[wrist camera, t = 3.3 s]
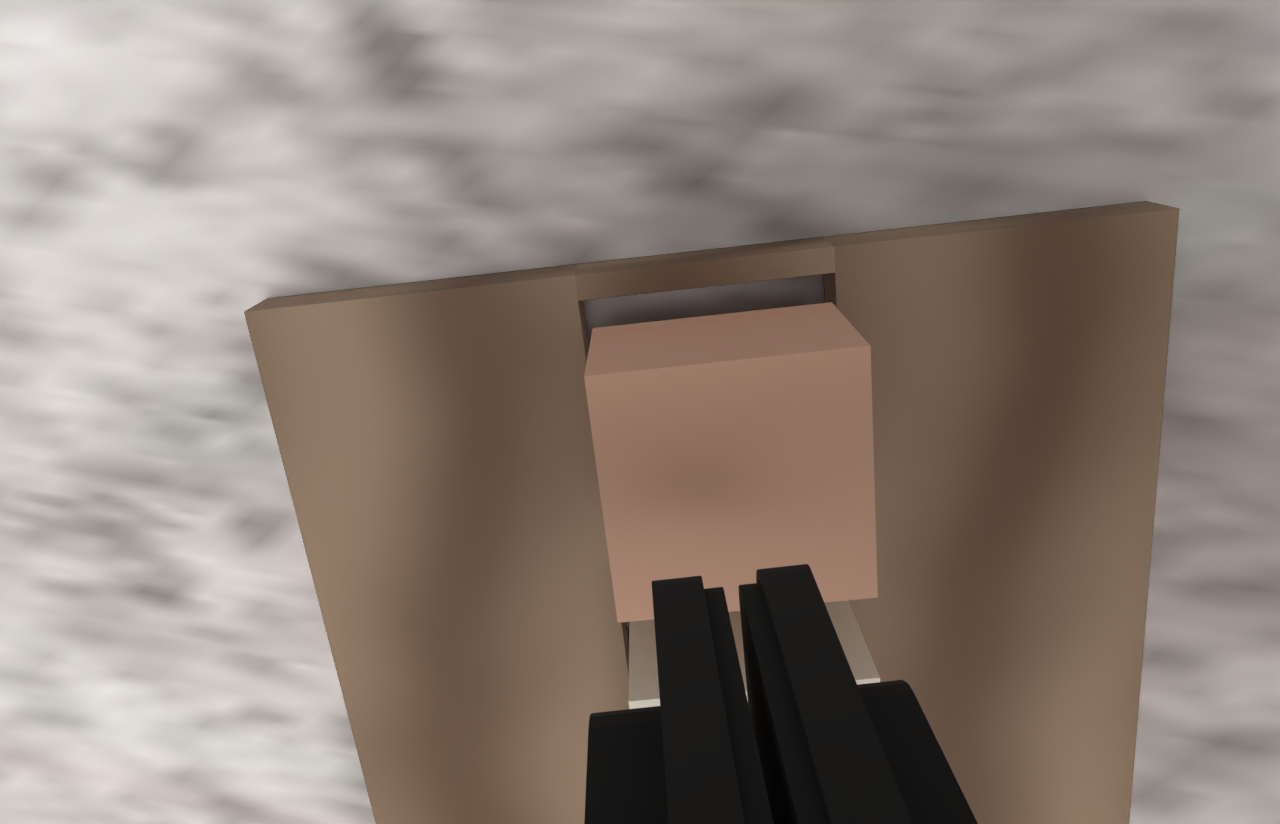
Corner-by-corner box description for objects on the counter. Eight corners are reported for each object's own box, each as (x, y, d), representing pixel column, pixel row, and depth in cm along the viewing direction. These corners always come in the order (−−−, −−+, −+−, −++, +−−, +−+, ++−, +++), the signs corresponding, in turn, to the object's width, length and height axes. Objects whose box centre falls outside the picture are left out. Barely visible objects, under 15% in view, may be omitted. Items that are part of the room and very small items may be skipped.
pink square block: (831, 301, 17) (870, 345, 14) (841, 518, 18) (877, 597, 16) (592, 327, 17) (584, 376, 14) (620, 540, 19) (617, 623, 16)
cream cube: (843, 589, 19) (880, 678, 16) (851, 764, 20) (885, 873, 18) (629, 609, 19) (628, 701, 16) (652, 782, 21) (654, 893, 18)
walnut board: (1146, 201, 19) (1179, 208, 18) (1098, 889, 25) (1120, 927, 23) (267, 298, 19) (244, 312, 18) (428, 946, 25) (418, 987, 24)
